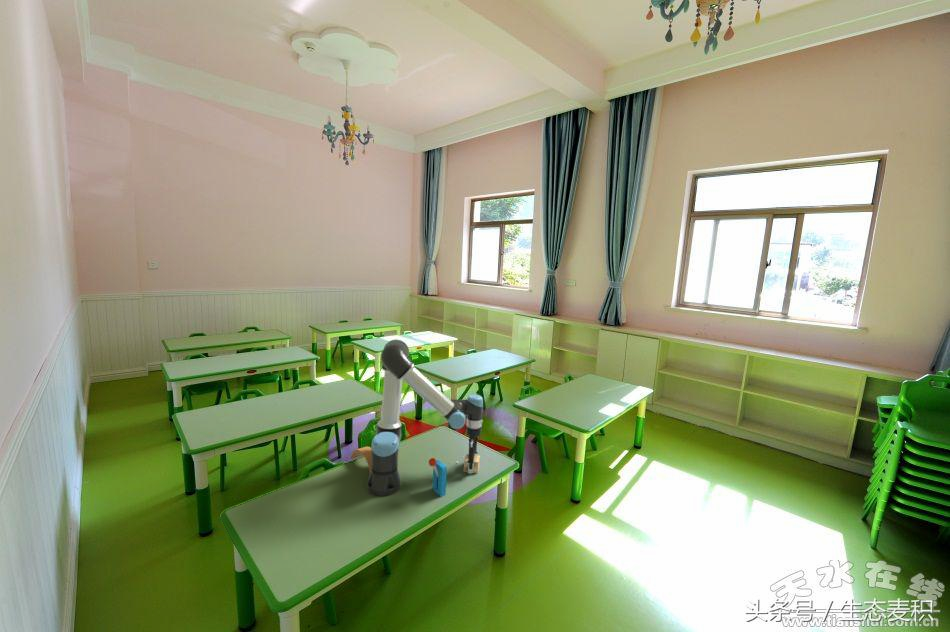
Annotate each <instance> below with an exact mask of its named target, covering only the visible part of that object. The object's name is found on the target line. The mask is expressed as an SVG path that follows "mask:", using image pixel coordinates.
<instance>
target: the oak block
mask: <svg viewBox="0 0 950 632" xmlns="http://www.w3.org/2000/svg"><path fill="white" fill-rule="evenodd" d="M468 455H469V453H466V455H465V457H464V461H463V472H464V473H468V462H467V461H468ZM480 460H481V455H479V454H478V455H477V454H476V455H474V472H473V474H479V470H480V465H481V464H480V463H481V461H480Z"/></svg>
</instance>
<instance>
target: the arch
mask: <svg viewBox="0 0 950 632" xmlns="http://www.w3.org/2000/svg"><path fill="white" fill-rule="evenodd" d="M362 455H363V457H364V459H365V460H366V463H367V466H368V470H369V474H370V473H371V461H372V447H370V446H363V447H360V448H356V449H355V450H353V451H352V452H351V455H350V459H354V458H357V457H361V456H362Z"/></svg>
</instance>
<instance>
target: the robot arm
mask: <svg viewBox="0 0 950 632" xmlns="http://www.w3.org/2000/svg"><path fill="white" fill-rule="evenodd" d="M409 355H410V348H409V347H408V344H407V343H406V342H405V341H403V340H401V339H396V338H395V339H392V340H389V341H387V342H386V343H385V344H384V347H383V349H382V351H381V354H380V361H381V369H382V370H383V372H384V378H383V390H382V403H381V413H380V419H379V420H378V421H377V423H376V431H375V433H376V434H375V435H374V436H373V438H372V440H371V444H370V445H371V447H370V448H372V461H371V473H370V472H369V476H368V478H367V481H366V490H367V492H368V493H369V494H372V495H374V496H381V497H384V496H390V495H393V494H395V493H397V492H398V491H400V489H401V487H402V478H401V476H400V472H399V466H398V465H399V451H400V444H401V439H402V427H403V426H402V422H401V421H400V411H401V400H402V392H403V391H402V389H403V382H405V384H407V385H408V386H409V387H410V388H411V389H412V390H413V391H414V392H415V393H417V395H419V396H420V397H421V398H422V399H424V401H426V402H427V403H428V404H429V405H430V406H431V407H432V408H433V409H435V410H436V412H437V413H439V414H440V415H441V416H442V417H443V418H445V420H447V421H448V424H449V426H450V427H451V428H452V429H454V430H455V429H456V430H459V429H462V428H463V427H464V426H465V424H466V429H465V433H466V436H469V438H468V454H469V455H468V461H467V462H468V472H467V473H468V474H472V473H473V472H474V455H477V454H478V453H479V452H478V451H477V447H478V440H479V438H478V437H480V436H481V435H482V431H483V430H482V425H483V423H484V420H483V413H484V412H483V411H484V398H483V397H482V396H481V395H480V394H470V395H468V397H467V398H466V399H453V398H449V397H448V396H446V395H445V393H444V392H442V391H441V390H440V389H439V388H438V387H437V386H436V385H434V383H432V382H431V380H429V378H427V377H426V376H425V375H424V374H423V373H422V372H420V370H418V369H417V368H416V367H415V363H414V362H413V361H412V360H411V359H410V358H409ZM473 474H474V473H473Z"/></svg>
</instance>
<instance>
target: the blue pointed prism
mask: <svg viewBox="0 0 950 632" xmlns="http://www.w3.org/2000/svg"><path fill="white" fill-rule="evenodd" d="M428 465H429V466H431V467H432V468H433V470H432V472H433V473H432V490H433V491H434V492H435V493H436V494H437V495H438V496H440V497H443V496H446V492H447V471H448V470H447V469H448V467H447V465H446V464H444V463H443V462H442V461H440V460H439V459H436V458H434V457H431V458H430V459H429V460H428Z"/></svg>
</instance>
